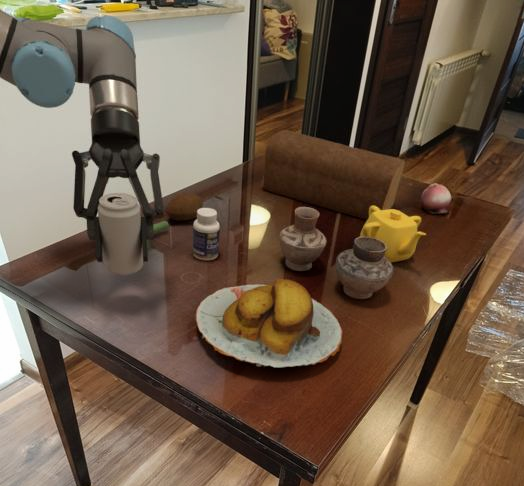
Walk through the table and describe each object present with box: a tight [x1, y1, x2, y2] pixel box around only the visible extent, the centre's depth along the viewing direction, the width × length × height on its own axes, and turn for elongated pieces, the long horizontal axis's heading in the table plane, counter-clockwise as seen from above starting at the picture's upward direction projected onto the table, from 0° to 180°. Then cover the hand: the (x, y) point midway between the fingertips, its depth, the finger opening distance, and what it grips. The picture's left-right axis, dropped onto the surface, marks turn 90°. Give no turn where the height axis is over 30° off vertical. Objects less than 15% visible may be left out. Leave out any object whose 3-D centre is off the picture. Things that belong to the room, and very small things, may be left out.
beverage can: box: [97, 192, 144, 276], centre depth 78 cm, size 6×6×12 cm
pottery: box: [278, 206, 395, 300], centre depth 97 cm, size 11×25×12 cm, turn 54°
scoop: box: [147, 220, 169, 250], centre depth 103 cm, size 16×7×3 cm, turn 139°
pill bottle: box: [192, 207, 221, 262], centre depth 100 cm, size 5×5×10 cm
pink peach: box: [420, 182, 452, 215], centre depth 131 cm, size 8×8×7 cm
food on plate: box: [194, 278, 344, 368], centre depth 83 cm, size 25×25×7 cm
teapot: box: [359, 206, 427, 263], centre depth 108 cm, size 14×13×10 cm
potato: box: [166, 192, 204, 222], centre depth 112 cm, size 7×10×6 cm
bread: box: [261, 129, 406, 221], centre depth 127 cm, size 14×34×14 cm, turn 64°
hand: (122, 259), depth 77 cm, fingers closed on beverage can, 6 cm apart
